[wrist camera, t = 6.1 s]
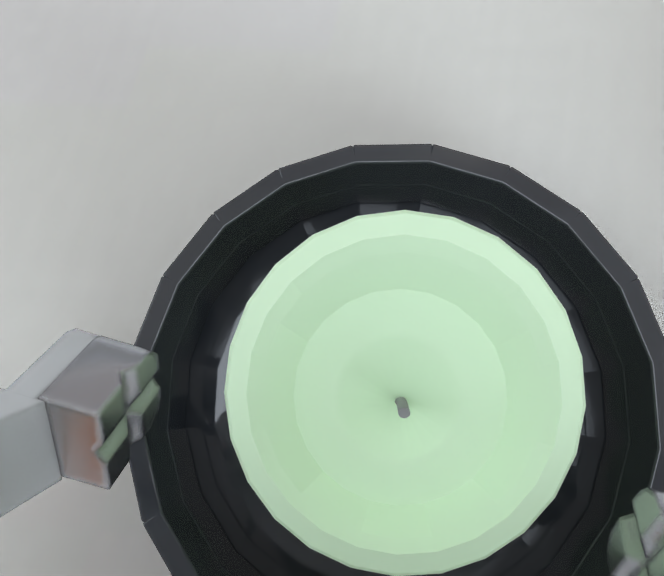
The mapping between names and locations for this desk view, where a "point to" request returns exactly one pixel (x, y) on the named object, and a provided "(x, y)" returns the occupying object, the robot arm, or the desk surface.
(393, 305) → the candle
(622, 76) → the desk surface
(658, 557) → the robot arm
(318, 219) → the pan
